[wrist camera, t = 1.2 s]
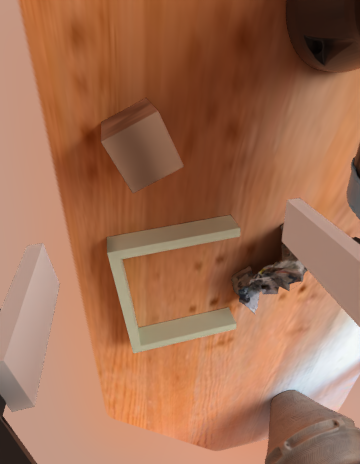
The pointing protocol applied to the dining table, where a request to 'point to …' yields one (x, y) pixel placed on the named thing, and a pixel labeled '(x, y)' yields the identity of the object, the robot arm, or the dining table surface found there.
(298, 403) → the planter
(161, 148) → the walnut block
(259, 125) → the dining table surface
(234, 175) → the dining table surface
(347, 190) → the robot arm
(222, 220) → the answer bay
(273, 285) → the grey crumpled lump
